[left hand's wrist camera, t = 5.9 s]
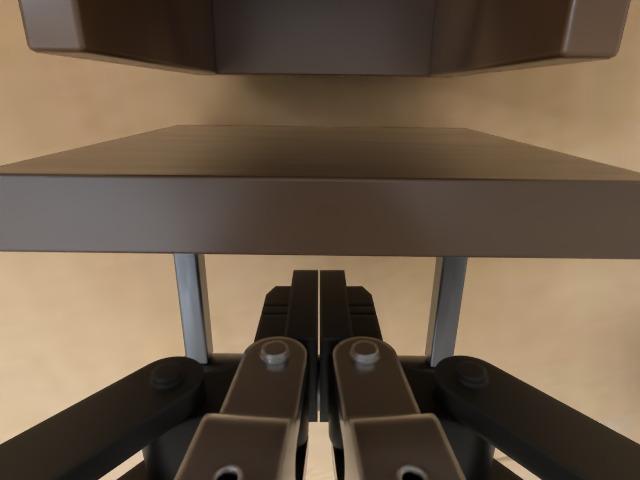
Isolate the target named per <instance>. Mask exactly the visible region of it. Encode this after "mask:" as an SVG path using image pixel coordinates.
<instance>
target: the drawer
mask: <svg viewBox="0 0 640 480" xmlns="http://www.w3.org/2000/svg"><path fill="white" fill-rule="evenodd" d="M630 1H631V0H18V2H19V6H20V11H21V16H22V20H23V25H24V30H25V35H26V39H27V44H28V46H29V48H30V49H31V50H32V51H35V52H37V53H45V54H52V55H59V56H66V57H74V58H81V59H88V60H95V61H103V62H110V63H117V64H124V65H132V66H139V67H146V68H153V69H160V70H168V71H175V72H182V73H189V74H196V75H241V76H327V77H412V78H449V77H456V76H465V75H474V74H483V73H491V72H500V71H509V70H518V69H526V68H535V67H544V66H552V65H561V64H570V63H579V62H587V61H596V60H605V59H610V58H612V57H614V56H616V55H617V53H618V51H619V47H620V43H621V38H622V34H623V30H624V26H625V22H626V18H627V13H628V9H629V5H630ZM0 251H7V252H88V253H169V254H174V262H175V271H176V279H177V287H178V295H179V304H180V312H181V320H182V328H183V337H184V345H185V353H186V355H185V356H184V357H189V358H192V359H194V360H196V361H198V362H199V363H200V364H201V365H202V367H203V370H204V372H208V371H213V370H218V369H222V368H226V367H229V366H231V365H234V364H236V363H238V362H239V361H241V359H242V356H243V354H232V353H213V345H212V334H211V323H210V313H209V302H208V291H207V281H206V270H205V259H204V254H250V255H332V256H413V257H437V258H436V266H435V275H434V283H433V292H432V300H431V309H430V317H429V326H428V334H427V343H426V351H425V355H426V356H398V359H399V361H400V363H401V364H403V365H405V366H408V367H411V368H415V369H419V370H423V371H428V372H433V373H435V367H436V365H437V364H438V362H440V361H441V360H442V359H444V358H447V357H451V356H453V354H454V347H455V340H456V334H457V327H458V320H459V313H460V306H461V299H462V293H463V286H464V279H465V272H466V265H467V258H468V257H494V258H576V259H640V173H638V172H634V171H630V170H627V169H623V168H619V167H615V166H611V165H607V164H603V163H599V162H595V161H591V160H587V159H583V158H580V157H576V156H572V155H568V154H564V153H560V152H556V151H552V150H548V149H544V148H540V147H536V146H532V145H529V144H525V143H521V142H517V141H513V140H509V139H505V138H501V137H497V136H493V135H489V134H485V133H482V132H478V131H474V130H470V129H466V128H391V127H306V126H222V125H176V126H172V127H168V128H163V129H159V130H155V131H150V132H146V133H142V134H137V135H133V136H129V137H124V138H120V139H116V140H111V141H107V142H103V143H98V144H94V145H89V146H85V147H81V148H76V149H72V150H68V151H63V152H59V153H55V154H50V155H46V156H42V157H37V158H33V159H29V160H24V161H20V162H16V163H11V164H7V165H3V166H0ZM317 411H320V355H318V400H317Z"/></svg>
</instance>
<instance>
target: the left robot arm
mask: <svg viewBox="0 0 640 480" xmlns="http://www.w3.org/2000/svg"><path fill="white" fill-rule="evenodd" d="M317 400H318V270H294V271H293V278H292V285H291V286H275V287H274V288H273V289H272V290H271V291H270V292H269V293H268V294H267V295H266V298H265V302H264V307H263V309H262V315H261V317H260V321H259V325H258V329H257V332H256V336H255V340H254V343H253V344H251V345H250V346H249V347H248V348H247V349H246V350H245V352H244V354H243V356H242V359H241V361H239V362H238V363H236V364H234V365H231V366H229V367H226V368H222V369H218V370H213V371H208V372H204V370H203V367H202V365H201V364H200V363H199V362H198V361H196V360H194V359H192V358H189V357H179V356H178V357H169V358H164V359H160V360H157V361H155V362H153V363H150V364H148V365H147V366H145V367H143V368H141V369H139V370H137V371H135V372H134V373H132V374H130V375H128V376H126V377H124V378H123V379H121V380H119V381H117V382H115V383H113V384H111V385H110V386H108V387H106V388H104V389H102V390H100V391H98V392H97V393H95V394H93V395H91V396H89V397H87V398H86V399H84V400H82V401H80V402H78V403H76V404H74V405H73V406H71V407H69V408H67V409H65V410H63V411H61V412H60V413H58V414H56V415H54V416H52V417H50V418H49V419H47V420H45V421H43V422H41V423H39V424H37V425H36V426H34V427H32V428H30V429H28V430H26V431H24V432H23V433H21V434H19V435H17V436H15V437H13V438H11V439H10V440H8V441H6V442H4V443H2V444H0V480H98V479H100V478H101V477H103V476H104V475H106V474H107V473H108V472H110V471H111V470H113V469H114V468H116V467H117V466H118V465H120V464H121V463H123V462H124V461H126V460H127V459H129V458H130V457H131V456H133V455H134V454H136V453H137V452H139V451H140V450H141V449H142V452H143V457H144V460H143V461H142V462H140V463H139V464H138V465H136V466H135V467H134V468H132V469H131V470H129V471H128V472H127V473H125V474H124V475H122V476H121V477H120V478H118V479H117V480H305V476H306V468H307V460H308V425H309V422H317ZM320 422H329V437H330V440H331V442H332V460H333V468H334V476H335V480H523V479H522V478H520V477H519V476H518V475H516V474H515V473H513V472H512V471H511V470H509V469H508V468H506V467H505V466H504V465H502V464H501V463H500V462H498V461H497V460H495V459H494V458H493V456H494V451H495V447H496V448H497V449H499V450H500V451H501V452H503V453H504V454H506V455H507V456H509V457H510V458H511V459H513V460H514V461H516V462H517V463H519V464H520V465H522V466H523V467H524V468H526V469H527V470H529V471H530V472H532V473H533V474H534V475H536V476H537V477H539V478H540V479H542V480H640V444H638V443H636V442H634V441H632V440H630V439H628V438H627V437H625V436H623V435H621V434H619V433H617V432H616V431H614V430H612V429H610V428H608V427H606V426H604V425H603V424H601V423H599V422H597V421H595V420H593V419H591V418H590V417H588V416H586V415H584V414H582V413H580V412H579V411H577V410H575V409H573V408H571V407H569V406H567V405H566V404H564V403H562V402H560V401H558V400H556V399H554V398H553V397H551V396H549V395H547V394H545V393H543V392H542V391H540V390H538V389H536V388H534V387H532V386H530V385H529V384H527V383H525V382H523V381H521V380H519V379H517V378H516V377H514V376H512V375H510V374H508V373H506V372H505V371H503V370H501V369H499V368H497V367H495V366H493V365H492V364H490V363H488V362H486V361H483V360H481V359H478V358H474V357H469V356H451V357H447V358H444V359H442V360H441V361H440V362H438V364H437V365H436V367H435V373H433V372H428V371H423V370H419V369H415V368H411V367H408V366H405V365H403V364H401V363H400V361H399V359H398V356H397V354H396V352H395V350H394V349H393V348H392V347H391V346H390V345H389V344H387V343H386V342H384V341H383V339H382V335H381V331H380V327H379V323H378V319H377V315H376V311H375V307H374V303H373V299H372V295H371V294H370V293H369V292H368V291H367V290H366V289H365V288H363V287H362V286H346V280H345V272H344V270H320Z"/></svg>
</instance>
